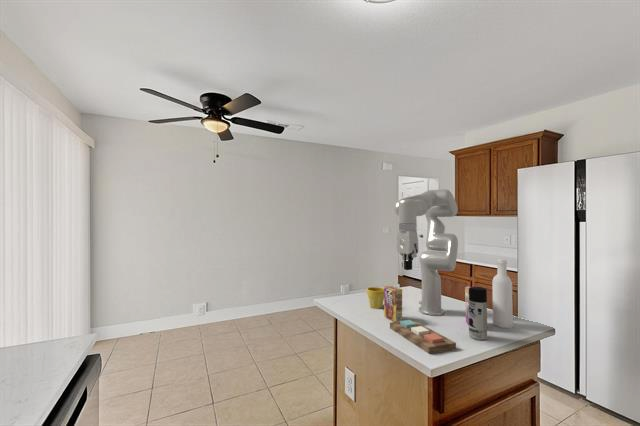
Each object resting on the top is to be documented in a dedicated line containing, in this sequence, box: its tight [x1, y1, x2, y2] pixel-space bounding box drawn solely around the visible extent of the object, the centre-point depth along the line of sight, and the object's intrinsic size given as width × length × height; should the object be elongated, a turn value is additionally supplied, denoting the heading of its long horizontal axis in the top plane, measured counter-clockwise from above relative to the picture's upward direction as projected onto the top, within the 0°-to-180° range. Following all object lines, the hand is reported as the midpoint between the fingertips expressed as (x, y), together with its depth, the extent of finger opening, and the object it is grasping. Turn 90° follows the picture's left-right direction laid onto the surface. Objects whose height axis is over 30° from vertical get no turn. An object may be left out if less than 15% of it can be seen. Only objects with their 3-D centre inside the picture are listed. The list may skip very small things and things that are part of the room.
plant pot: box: [366, 286, 384, 309], centre depth 160 cm, size 10×10×10 cm
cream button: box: [411, 326, 429, 336], centre depth 118 cm, size 5×5×3 cm
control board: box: [389, 319, 457, 355], centre depth 118 cm, size 26×12×2 cm, turn 18°
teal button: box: [400, 319, 417, 328], centre depth 126 cm, size 5×5×3 cm
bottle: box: [491, 258, 514, 329], centre depth 133 cm, size 8×8×30 cm
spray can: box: [468, 286, 488, 341], centre depth 119 cm, size 7×7×20 cm
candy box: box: [383, 285, 403, 322], centre depth 141 cm, size 9×4×15 cm, turn 26°
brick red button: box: [424, 333, 444, 344], centre depth 111 cm, size 5×5×3 cm
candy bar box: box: [464, 286, 470, 326], centre depth 132 cm, size 11×5×16 cm, turn 163°
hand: (408, 269), depth 127 cm, fingers closed
